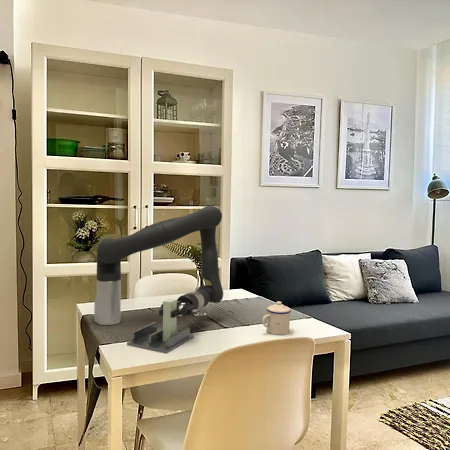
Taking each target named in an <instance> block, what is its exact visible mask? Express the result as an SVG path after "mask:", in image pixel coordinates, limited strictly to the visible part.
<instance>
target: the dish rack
mask: <svg viewBox="0 0 450 450" xmlns="http://www.w3.org/2000/svg"><path fill="white" fill-rule="evenodd" d="M194 336H195V335H194V334H192V333H191V329H190V327H185V328H184V329H182V330H180V331H177V334H175V335H173V336H171V337H169V338H167V339H166V341H163V328H160V327H158V322H157V321H153V322H151V323H149V324H147V325H146V324H145V326H142V327H140V328H138V329H136V330H134V331H131V340H128V341H127V342H126V345H127V346H130V347H134V348H140V349H144V350H149V351H154V352H158V353H163V354H168V353H170V352H172V351H174V350H175V349H177V348H178V347H180V346H182V345H183V344H186V342H188V341H190V340H192V339H193V338H194Z"/></svg>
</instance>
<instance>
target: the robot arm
mask: <svg viewBox="0 0 450 450" xmlns="http://www.w3.org/2000/svg"><path fill="white" fill-rule="evenodd" d="M222 215H223V212H221V210H220V209H219V208H218V207H217V206H214V205H207V206H204V207H202V208H201V209H199V210H197V211H194V212H192V213H189V214H187V215H183V216H178V217H174V218H169V219H165V220H162V221H158V222H156V223H152V224H149V225H147V226H146V227H143V228H141V229H140V230H138V231H136V232H134V233H132V234H129V235H127V236H123V237H119V238H115V239H114V238H111V237H107V238H103V239H101V241H99V242H98V244H97V247H96V297H95V298H94V307H93V308H94V309H93V310H94V319H93V320H94V321H93V322H94V323H96V324H97V325H101V326H112V325H117V324H119V323H120V322H121V312H122V311H121V310H122V309H121V305H122V304H121V301H122V299H121V298H122V297H121V296H122V293H121V291H122V290H121V289H122V285H121V283H122V280H121V279H122V268H121V266H122V265H121V262H122V261H121V260H123V259H124V258H126V257H129V256H131V255H133V254H136V253H140V252H143V251H149V250H151V249H155V248H158V247H161V246H164V245H167V244H170V243H172V242H175V241H177V240H179V239H182V238H183V237H186V236H189V235H190V234H193V233H194V232H198V231H199V237H200V244H201V245H200V246H201V247H200V249H201V248H202V256H201V255H200V256H201V258H200V259H201V262H200V263H201V264H200V267H201V270H200V271H201V278H202V279H203V280H207V281H209V283H210V284H207V285H205V284H204V285H200V286H198V288H197V289H196V290H194V291H190V292H188V293H187V292H186V293H185V294H183V295H180V296H178V298H177V299H176V300H177V309H176V310H174V311H172V312H171V318H174V317H176V316H177V317H181V316H182V317H187V316H188V317H189V316H192V315H196V314H197V312H198V311H199V310H201V309H202V308H204V307H206V306H207V305H208V304H209V303H210V304H212V303H214V304H218V303H220V302H222V300H223V297H224V289H223V286H222V283H221V279H220V275H219V257H218V250H217V243H216V232H217V226H219V225H220V224H221V222H222V219H223V216H222ZM158 315H159V316H160V317H163V303H161V305H160V309H159V310H158Z"/></svg>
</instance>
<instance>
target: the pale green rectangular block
mask: <svg viewBox="0 0 450 450" xmlns="http://www.w3.org/2000/svg"><path fill="white" fill-rule="evenodd" d="M162 304H163V316H162V329H163V341H166V339H167V338H169V337H171V336H173V335H175V334H177V332H178V331H177V326H178V325H177V322H178V319H177V317H178V316H176V317H174V318H171V312H172V311H174V310H176V309H177V299H175V298H168V299H165V300H163V301H162Z"/></svg>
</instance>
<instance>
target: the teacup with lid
mask: <svg viewBox="0 0 450 450" xmlns="http://www.w3.org/2000/svg"><path fill="white" fill-rule="evenodd" d="M266 312H267V314H264V315H263V317H262V320H261V322H262V325H263V327H265V328H266V331H267V332H268V333H269V334H272V335H275V336H283V335H287V334H289V333H290V325H291V324H290V323H291V322H290V321H291V320H290V319H291V308H290V307H288V306H286V305H284V304H282V301H280V300H279V301H276V303H274V304H273V305H272V304H271V305H268V307H266Z"/></svg>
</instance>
